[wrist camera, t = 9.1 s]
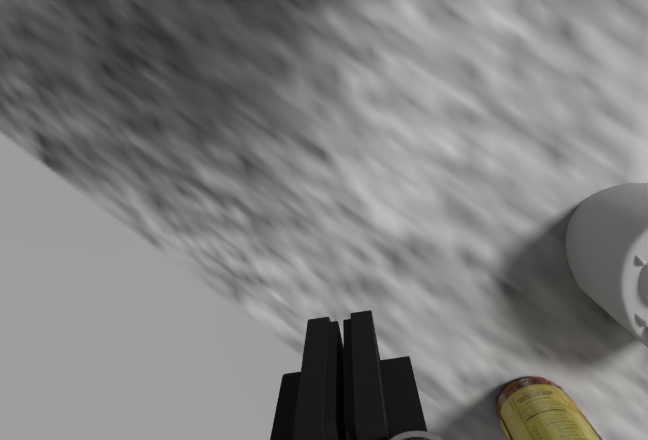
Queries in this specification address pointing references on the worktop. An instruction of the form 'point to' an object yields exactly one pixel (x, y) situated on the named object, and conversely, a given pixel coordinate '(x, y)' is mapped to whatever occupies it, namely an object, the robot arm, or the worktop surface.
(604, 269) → the lumpy-topped squat cylinder
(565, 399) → the sauce bottle
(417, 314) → the worktop surface
